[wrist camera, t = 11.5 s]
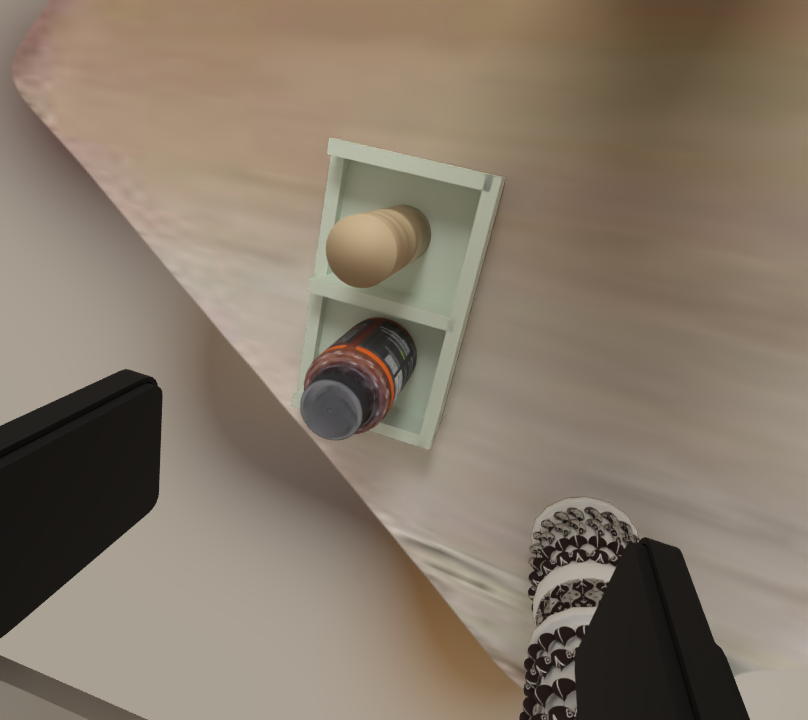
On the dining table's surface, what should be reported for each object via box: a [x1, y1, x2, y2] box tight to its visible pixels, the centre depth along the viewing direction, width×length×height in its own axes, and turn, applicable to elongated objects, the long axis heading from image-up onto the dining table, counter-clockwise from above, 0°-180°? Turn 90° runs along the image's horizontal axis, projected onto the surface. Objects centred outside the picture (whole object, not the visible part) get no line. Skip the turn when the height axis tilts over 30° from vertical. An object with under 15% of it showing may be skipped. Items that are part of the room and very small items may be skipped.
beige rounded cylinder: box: [326, 205, 431, 288], centre depth 33 cm, size 4×4×10 cm
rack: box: [291, 138, 506, 450], centre depth 39 cm, size 20×12×4 cm, turn 168°
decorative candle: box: [520, 497, 640, 720], centre depth 32 cm, size 9×9×25 cm
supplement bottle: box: [300, 317, 417, 440], centre depth 36 cm, size 6×6×11 cm
